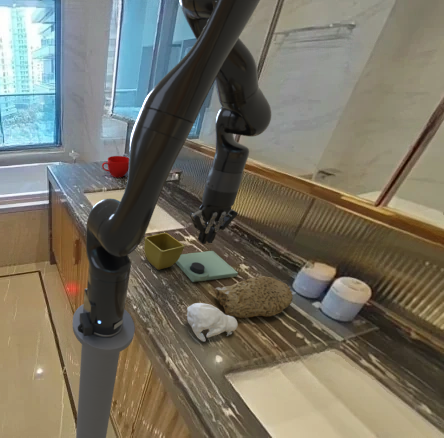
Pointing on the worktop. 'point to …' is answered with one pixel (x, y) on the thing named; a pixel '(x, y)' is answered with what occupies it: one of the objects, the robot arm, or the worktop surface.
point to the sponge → (255, 297)
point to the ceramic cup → (117, 166)
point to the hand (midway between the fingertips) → (205, 241)
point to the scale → (206, 266)
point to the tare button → (197, 268)
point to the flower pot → (162, 250)
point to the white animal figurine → (209, 320)
